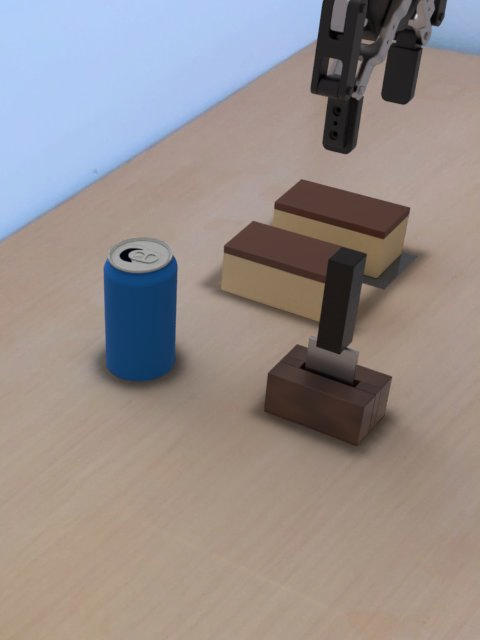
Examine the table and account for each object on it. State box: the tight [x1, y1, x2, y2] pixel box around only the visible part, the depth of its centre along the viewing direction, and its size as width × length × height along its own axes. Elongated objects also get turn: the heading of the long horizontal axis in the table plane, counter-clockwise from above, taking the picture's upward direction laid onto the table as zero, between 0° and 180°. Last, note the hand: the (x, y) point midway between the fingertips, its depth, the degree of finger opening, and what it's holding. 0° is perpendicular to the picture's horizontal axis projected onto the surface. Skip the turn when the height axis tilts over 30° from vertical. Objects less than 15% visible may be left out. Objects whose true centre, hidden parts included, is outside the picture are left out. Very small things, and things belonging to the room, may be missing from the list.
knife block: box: [263, 343, 393, 447], centre depth 95 cm, size 9×5×5 cm, turn 50°
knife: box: [305, 247, 367, 387], centre depth 90 cm, size 4×2×15 cm, turn 50°
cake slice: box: [220, 220, 364, 322], centre depth 107 cm, size 12×5×5 cm, turn 50°
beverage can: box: [103, 236, 179, 382], centre depth 100 cm, size 6×6×12 cm
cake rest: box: [271, 178, 411, 278], centre depth 111 cm, size 12×5×5 cm, turn 50°
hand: (368, 124), depth 77 cm, fingers open, 8 cm apart
